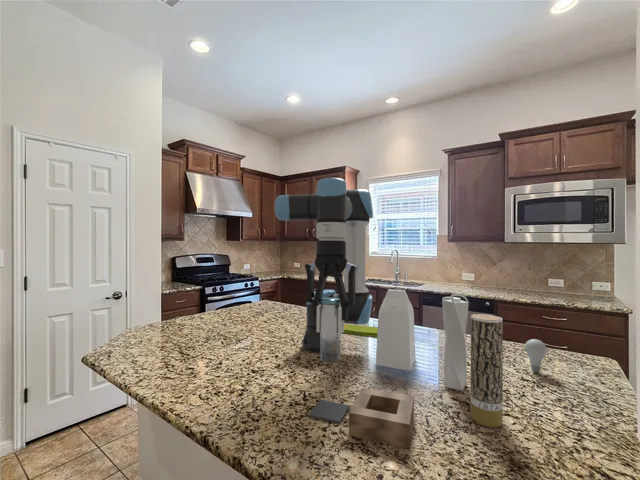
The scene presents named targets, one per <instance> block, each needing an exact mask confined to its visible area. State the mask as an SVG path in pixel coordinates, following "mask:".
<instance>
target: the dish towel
mask: <svg viewBox="0 0 640 480" xmlns="http://www.w3.org/2000/svg"><path fill="white" fill-rule="evenodd" d="M377 333H378V326H368V325H360V324H358V325H356V324H347V323H344V333H343V335H350V334H351V336H358V335H359V336H361V337H369V338H376V339H377ZM359 336H358V337H359Z"/></svg>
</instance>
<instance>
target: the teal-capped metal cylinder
mask: <svg viewBox="0 0 640 480" xmlns="http://www.w3.org/2000/svg"><path fill="white" fill-rule="evenodd" d="M339 307H340V299H339V298H322V299H321V324H320V353H319V360H320V361H321V362H324V363H330V364H331V363H336V362H337V363H338V362H339V361H340V360H341V335H338V308H339Z"/></svg>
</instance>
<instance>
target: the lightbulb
mask: <svg viewBox="0 0 640 480" xmlns="http://www.w3.org/2000/svg"><path fill="white" fill-rule="evenodd" d="M524 349H525V352H526V354H527V355H528V358H529V359H528V360H529V363H530V370H531V371H532V372H534V373H539V372H541V366H542V363H543V359H544V358H545V357H546V355H547V352H548V350H547V349H548V348H547V346H546V344H545V343H544V342H543V341H541V340H540V339H536V338H532V339H529V340H527V341H526V342H525V345H524Z"/></svg>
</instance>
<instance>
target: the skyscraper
mask: <svg viewBox="0 0 640 480" xmlns="http://www.w3.org/2000/svg"><path fill="white" fill-rule="evenodd" d="M461 298H463V299H465V300H462V299H461ZM441 299H442V302H441V303H442V304H441V305H442V321H443V329H444V335H445V336H444V337H445V340H444V354H443V358H444V359H443V383H444V384H443V385H444V387H445V388H449V389H454V390H458V391H461V392H464V390H465V389H464V388H465V386H466V385H467V368H468V363H467V360H468V359H467V345H466V344H467V343H466V338H465V337H466V336H465V334H466V328H467V323H468V314H469V303H470V302H469V299H468V298H467V297H466V296H465V295H463V294H459V293H456V294H455V293H454V294H451V295H450V296H444V297H442V298H441Z"/></svg>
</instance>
